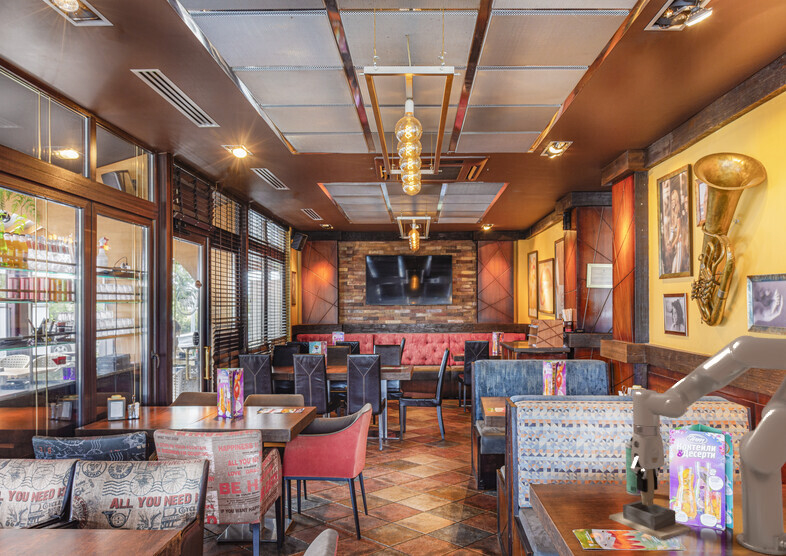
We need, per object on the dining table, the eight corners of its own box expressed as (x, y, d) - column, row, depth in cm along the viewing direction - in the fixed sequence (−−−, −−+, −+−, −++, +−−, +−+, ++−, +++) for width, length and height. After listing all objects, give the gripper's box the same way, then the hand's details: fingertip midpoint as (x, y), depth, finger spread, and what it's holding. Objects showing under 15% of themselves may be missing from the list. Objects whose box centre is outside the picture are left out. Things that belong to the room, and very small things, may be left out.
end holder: (691, 530, 161) (690, 513, 161) (661, 539, 154) (660, 522, 154) (638, 510, 176) (638, 495, 177) (609, 518, 170) (609, 502, 170)
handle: (647, 509, 162) (646, 458, 163) (634, 501, 168) (633, 453, 169) (661, 508, 163) (660, 458, 164) (647, 500, 169) (647, 452, 170)
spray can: (646, 495, 191) (644, 439, 192) (630, 495, 191) (629, 438, 192) (639, 490, 196) (637, 435, 198) (624, 490, 196) (623, 435, 198)
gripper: (639, 435, 160) (640, 498, 159) (674, 429, 168) (675, 489, 167) (618, 430, 166) (618, 490, 165) (653, 425, 174) (654, 482, 173)
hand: (647, 489), depth 166 cm, fingers closed on handle, 4 cm apart
